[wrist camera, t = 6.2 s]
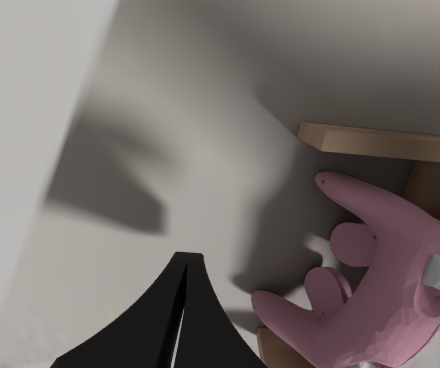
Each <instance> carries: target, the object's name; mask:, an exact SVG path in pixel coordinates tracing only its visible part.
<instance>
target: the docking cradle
mask: <svg viewBox="0 0 440 368" xmlns="http://www.w3.org/2000/svg"><path fill="white" fill-rule="evenodd" d="M297 138H298V139H300V140H302V141H304V142H306V143H307V144H309V145H311V146H313V147H315V148H316V149H318V150H320V151H326V152H336V153H347V154H357V155H368V156H378V157H389V158H400V159H410V160H415V162H414V165H413V168H412V170H411V173H410V176H409V178H408V181H407V183H406V186H405V189H404V191H403V194H402V198H403V199H405V200H407V201H409V202H411V203H412V204H414V205H415V206H417V207H419V208H420V209H422V210H423V211H425V212H426V213H428V214H429V215H430V216H432V217H433V218H435V219H438V220H440V136H437V135H427V134H417V133H407V132H397V131H387V130H377V129H368V128H358V127H348V126H338V125H328V124H318V123H308V122H300V127H299V131H298V136H297ZM257 342H258V347H259V353H260V359H261V361H262V362H263V363H264V364H265V365H266V366H267V367H268V368H316V367H315V366H314V365H313V364H311V363H310V362H309V361H308V360H307V359H306V358H304V357H303V356H302V355H301V354H300V353H299V352H297V351H296V350H295V349H294V348H293V347H291V346H290V345H289V344H288V343H286V342H285V341H284V340H283V339H281V338H280V337H279V336H278V335H276V334H275V333H274V332H273V331H272V330H271V329H269V328H260V327H258V331H257Z"/></svg>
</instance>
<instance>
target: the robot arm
mask: <svg viewBox="0 0 440 368" xmlns="http://www.w3.org/2000/svg"><path fill="white" fill-rule="evenodd" d="M183 309H184V314H183ZM182 314H183V320H182V326H181V331H180V337H179V342H178V348H177V353H176V358H175V363H174V368H268V367H267V366H266V365H265V364H264V363H263V362H262V361H261V360H260V359H259V357H258V356H257V355H256V354H255V353H254V352H253V351H252V349H251V348H250V347H249V346H248V345H247V343H246V342H245V341H244V340H243V338H242V337H241V335H240V334H239V333H238V331H237V330H236V329H235V327H234V326H233V324H232V323H231V321H230V320H229V318H228V317H227V315H226V313H225V312H224V310H223V308H222V306H221V304H220V303H219V301H218V299H217V296H216V294H215V292H214V290H213V288H212V285H211V282H210V280H209V277H208V274H207V271H206V267H205V263H204V256H203V254H202V253H189V252H175V253H174V255H173V257H172V258H171V260H170V261H169V263H168V264H167V266H166V267H165V269H164V270H163V271H162V273H161V274H160V275H159V276H158V278H157V279H156V280H155V281H154V283H153V284H152V285H151V286H150V287H149V288H148V289H147V290H146V292H145V293H144V294H143V295H142V296H141V297H140V298H139V299H138V300H137V301H136V302H135V303H134V304H133V305H132V306H130V307H129V308H128V309H127V310H126V311H125V312H124V313H122V314H121V315H120V316H119V317H118V318H117V319H115V320H114V321H113V322H112V323H110V324H109V325H108V326H106V327H105V328H103V329H102V330H101V331H99V332H98V333H97V334H95V335H94V336H92V337H91V338H90V339H88V340H87V341H85V342H83V343H82V344H80V345H79V346H77V347H75V348H74V349H72V350H70V351H69V352H67V353H65V354H64V355H62V356H60V357H58V358H57V359H56V360H55V362H54V363H53V364H52V366H51V367H50V368H171V362H172V357H173V352H174V348H175V344H176V339H177V335H178V331H179V327H180V322H181V318H182Z"/></svg>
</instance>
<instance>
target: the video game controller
mask: <svg viewBox="0 0 440 368" xmlns="http://www.w3.org/2000/svg"><path fill="white" fill-rule="evenodd" d="M315 182H316V184H317V186H318V187H319V189H320V190H321V191H322V192H323V193H324V194H326V195H327V196H328V197H329V198H330V199H331V200H333V201H334V202H336V203H337V204H339V205H341V206H342V207H344V208H345V209H347V210H349V211H350V212H352V213H353V214H355V215H356V216H358V217H359V218H360V219H361V220H363V221H364V222H365V223H342V224H339V225H338V226H337V227H335V229H334V230H333V232H332V234H331V238H330V246H331V250H332V252H333V254H334V255H335V257H336V258H337V259H338V260H339V261H341V262H342V263H344V264H346V265H349V266H353V267H369V268H368V270H367V272H366V274H365V276H364V277H363V279H362V280H361V282H360V284H359V285H358V287H357V288H356V290H355V291H354V293H353V294H352V292H351V289H350V286H349V284H348V282H347V280H346V279H345V277H344V276H343V275H342V274H341V273H340V272H339V271H337V270H336V269H334V268H331V267H317V268H313V269H312V270H310V271H309V272H308V273H307V275H306V277H305V282H304V284H305V290H306V293H307V296H308V298H309V300H310V303H311V306H312V309H313V310H311V311H310V310H307V309H303V308H301V307H299V306H297V305H295V304H293V303H292V302H290V301H288V300H286V299H285V298H283V297H281V296H278V295H276V294H274V293H271V292H268V291H262V290H257V291H255V292H254V293H253V294H252V297H251V302H252V306H253V309H254V311H255V313H256V314H257V316H258V317H259V319H260V320H261V321H262V322H263V323H264V324H265V325H266V326H267V327H268V328H269V329H271V330H272V331H273V332H274V333H275V334H276V335H278V336H279V337H280V338H281V339H283V340H284V341H285V342H286V343H288V344H289V345H290V346H291V347H293V348H294V349H295V350H296V351H297V352H299V353H300V354H301V355H302V356H303V357H304V358H306V359H307V360H308V361H309V362H310V363H311V364H313V365H314V366H315V367H316V368H397V367H399V366H401V365H403V364H404V363H406V362H407V361H409V360H410V359H411V358H413V357H414V356H415V355H417V354H418V353H419V352H420V351H421V350H422V349H423V348H424V347H425V346H426V345H427V344H428V343H429V342H430V341H431V339H432V338H433V337H434V335H435V334H436V333H437V331H438V330H439V328H440V220H438V219H435V218H433V217H432V216H430V215H429V214H428V213H426V212H425V211H423V210H422V209H420V208H419V207H417V206H415V205H414V204H412V203H411V202H409V201H407V200H405V199H403V198H402V197H400V196H398V195H396V194H394V193H392V192H390V191H387V190H385V189H382V188H380V187H377V186H375V185H372V184H369V183H367V182H364V181H361V180H358V179H356V178H353V177H350V176H348V175H345V174H341V173H338V172H333V171H325V172H320V173H318V174H316V176H315Z"/></svg>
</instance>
